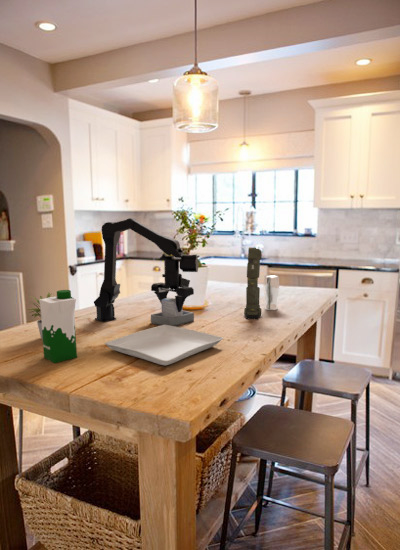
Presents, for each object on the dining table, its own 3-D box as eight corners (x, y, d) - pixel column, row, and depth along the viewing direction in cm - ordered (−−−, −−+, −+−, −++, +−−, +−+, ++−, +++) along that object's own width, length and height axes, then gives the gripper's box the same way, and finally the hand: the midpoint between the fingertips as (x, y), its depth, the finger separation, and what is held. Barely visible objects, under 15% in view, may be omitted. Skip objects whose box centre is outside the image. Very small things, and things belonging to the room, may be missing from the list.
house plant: (26, 333, 147) (23, 289, 144) (66, 329, 151) (64, 286, 149) (24, 345, 133) (21, 296, 131) (68, 340, 138) (66, 293, 136)
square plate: (164, 333, 148) (164, 323, 147) (225, 348, 130) (225, 336, 130) (103, 352, 127) (103, 340, 126) (166, 373, 110) (166, 359, 109)
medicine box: (183, 321, 161) (183, 299, 160) (175, 323, 157) (175, 301, 156) (169, 318, 166) (169, 297, 165) (161, 320, 163) (161, 299, 161)
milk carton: (81, 357, 121) (78, 291, 119) (52, 365, 115) (48, 296, 112) (67, 350, 128) (64, 288, 125) (39, 357, 121) (35, 292, 118)
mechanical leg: (260, 319, 162) (262, 245, 164) (242, 318, 163) (244, 245, 166) (261, 319, 175) (263, 250, 178) (245, 318, 177) (247, 250, 179)
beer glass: (278, 307, 188) (278, 275, 185) (279, 310, 181) (280, 277, 179) (262, 307, 188) (263, 275, 186) (263, 310, 181) (264, 277, 179)
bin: (169, 328, 153) (169, 319, 153) (150, 323, 160) (150, 314, 160) (193, 321, 163) (193, 312, 163) (175, 316, 170) (175, 308, 170)
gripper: (203, 271, 159) (203, 310, 161) (169, 267, 171) (170, 303, 173) (183, 274, 150) (183, 315, 153) (149, 270, 163) (150, 308, 165)
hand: (172, 310), depth 161 cm, fingers closed on medicine box, 8 cm apart
